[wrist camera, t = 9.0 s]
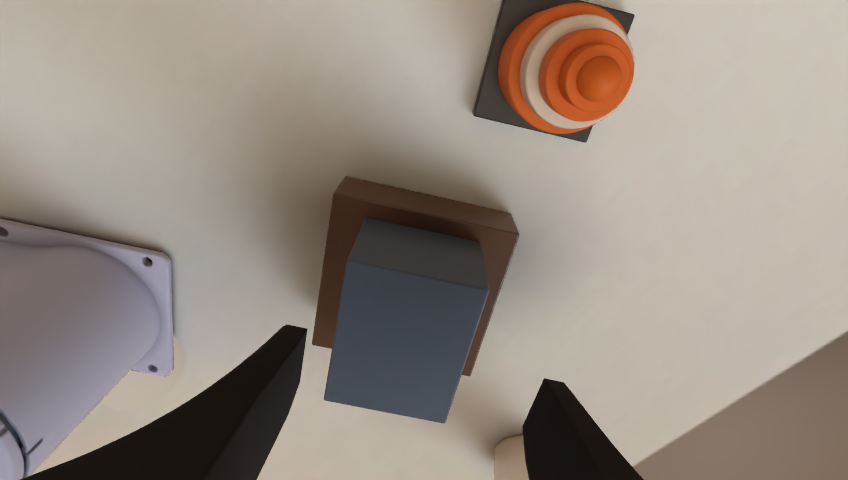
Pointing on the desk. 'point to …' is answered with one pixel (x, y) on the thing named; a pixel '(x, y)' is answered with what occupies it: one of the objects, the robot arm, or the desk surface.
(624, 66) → the cone
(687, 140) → the desk surface
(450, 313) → the blue block
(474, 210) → the base block
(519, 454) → the milkshake
